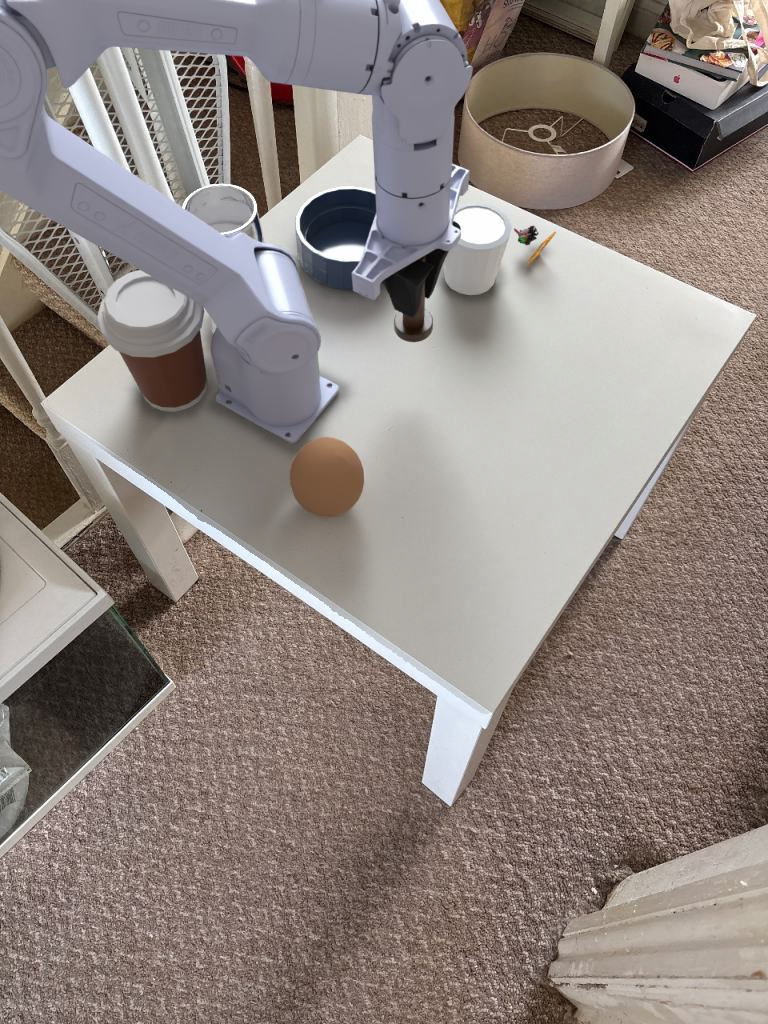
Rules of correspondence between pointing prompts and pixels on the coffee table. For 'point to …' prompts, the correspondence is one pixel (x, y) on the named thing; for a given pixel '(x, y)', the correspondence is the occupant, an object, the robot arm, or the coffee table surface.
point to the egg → (326, 477)
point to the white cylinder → (477, 248)
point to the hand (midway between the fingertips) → (412, 301)
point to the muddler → (414, 322)
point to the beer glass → (226, 212)
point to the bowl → (334, 233)
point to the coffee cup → (156, 339)
